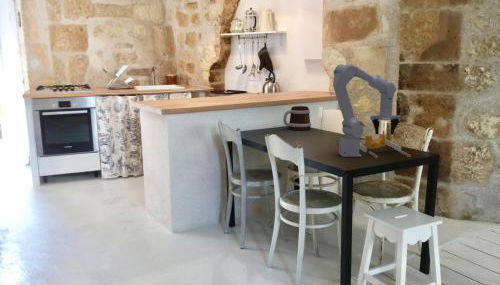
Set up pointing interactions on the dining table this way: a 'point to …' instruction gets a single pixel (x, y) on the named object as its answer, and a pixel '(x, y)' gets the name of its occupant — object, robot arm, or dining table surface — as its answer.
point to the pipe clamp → (377, 144)
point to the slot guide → (400, 152)
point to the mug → (298, 118)
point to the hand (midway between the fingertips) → (384, 134)
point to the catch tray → (385, 143)
